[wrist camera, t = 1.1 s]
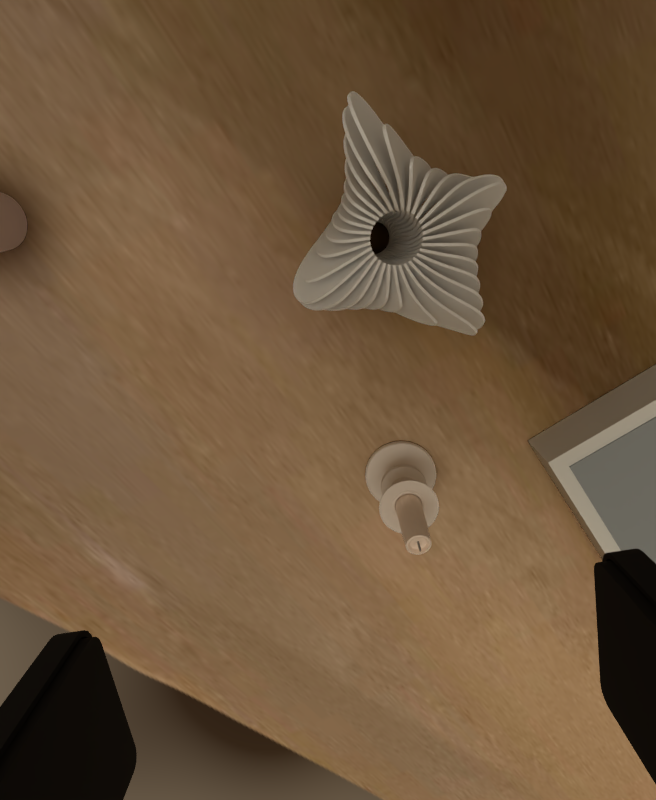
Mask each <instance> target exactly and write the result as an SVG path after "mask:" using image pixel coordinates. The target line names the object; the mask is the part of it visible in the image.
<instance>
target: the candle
mask: <svg viewBox="0 0 656 800" xmlns="http://www.w3.org/2000/svg"><path fill="white" fill-rule="evenodd" d="M365 478H366V484H367V487H368V489H369V491H370V493H371V494H372V495H373V496H374V497H375V499H377V500H378V501H379V502H380V504H379V511H380V516H381V518H382V520H383V522H384V523H385V524H386V526H387V527H389V528H390V529H392V530H393V531H395V532H398V533H401V534H402V536H403V539H404V542H405V546H406V549H407V551H408V552H410V553H411V554H416V555H419V554H423V553H425V552H427V551H428V550H429V549H430V547H431V539H430V534H429V530H428V527H430V526H431V524H432V523H433V522H434V521H435V519H436V517H437V515H438V511H439V502H438V498H437V496H436V494H435V492H434V491H433V490H432V489H433V487H434V485H435V481H436V467H435V464H434V462H433V460H432V457H431V456H430V455H429V453H428V452H427V451H426V450H425V449H424V448H422V447H421V446H419V445H417V444H415V443H412V442H407V441H396V442H390V443H388V444H385V445H383V446H381V447H380V448H379V449H377V450H376V451H375V452H374V453H373V454H372V456H371V457H370V458H369V461H368V463H367V465H366V471H365Z"/></svg>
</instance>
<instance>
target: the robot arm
mask: <svg viewBox="0 0 656 800" xmlns="http://www.w3.org/2000/svg"><path fill="white" fill-rule="evenodd" d="M594 576H595V594H596V612H597V630H598V648H599V665H600V683H601V689H602V693H603V696H604V699H605V701H606V703H607V705H608V707H609V709H610V711H611V712H612V714H613V716H614V717H615V719H616V720H617V722H618V724H619V725H620V727H621V729H622V730H623V732H624V733H625V735H626V737H627V738H628V740H629V742H630V743H631V745H632V746H633V748H634V750H635V751H636V753H637V755H638V756H639V758H640V759H641V761H642V763H643V764H644V766H645V768H646V769H647V771H648V772H649V774H650V776H651V777H652V779H653V781H654V782H655V784H656V563H655V562H654V561H652V560H651V559H650V558H649V557H648V556H647V555H646V554H645V553H644V552H643V551H641V550H640V549H629V550H622V551H615V552H609V553H605V554H604V556H603V559H602V562H598V563H596V564H595V566H594ZM135 765H136V747H135V744H134V741H133V738H132V735H131V732H130V729H129V726H128V722H127V720H126V716H125V713H124V711H123V708H122V704H121V701H120V698H119V696H118V692H117V689H116V686H115V683H114V680H113V677H112V674H111V671H110V668H109V665H108V662H107V659H106V656H105V653H104V650H103V647H102V644H101V642H100V640H99V639H98V638H97V637H92V635H91V634H90V633H89V632H88V631H85V630H84V631H77V632H70V633H63V634H57V635H55V636H53V637H52V638H51V639H50V641H49V642H48V643H47V644H46V646H45V647H44V648H43V650H42V651H41V652H40V654H39V655H38V657H37V658H36V659H35V661H34V662H33V663H32V665H31V666H30V667H29V669H28V670H27V671H26V673H25V674H24V675H23V677H22V678H21V680H20V681H19V682H18V684H17V685H16V686H15V688H14V689H13V690H12V692H11V693H10V694H9V696H8V697H7V699H6V700H5V701H4V703H3V704H2V705H1V707H0V800H123V798H124V796H125V793H126V790H127V788H128V786H129V783H130V780H131V778H132V775H133V773H134V769H135Z"/></svg>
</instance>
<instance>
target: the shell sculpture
mask: <svg viewBox="0 0 656 800" xmlns="http://www.w3.org/2000/svg"><path fill="white" fill-rule="evenodd" d="M347 100H348V106H347V107H346V108H345V109H344V111H343V115H342V120H343V127H344V130H345V136H344V152H345V156H346V161H345V175H346V180H345V182H344V192H345V193H344V194H343V195H342V197H341V204H340V205H339V207H338V209H337V211H336V212H335V213H334V214H333V216H332V220H331V222H330V223H329V224H328V225H327V228H326V229H325V230H324V232H323V233H322V234H321V235H320V237H319V239H318V240H317V241H316V242H315V243H314V245H313V246H312V247H311V249H310V250H309V252H308V253H307V255H306V256H305V258H304V259H303V261H302V262H301V264H300V266H299V268H298V270H297V272H296V275H295V278H294V282H293V292H294V295H295V297H296V299H297V300H298V301H299V302H300V303H301V304H302V305H303V306H304V307H306V308H308V309H310V310H329V311H339V310H344V309H350V310H359V309H363V308H365V309H371V310H376V309H380V310H382V311H386V312H395V313H397V314H399V315H401V316H404V317H406V318H408V319H411V320H414V321H416V322H419V323H422V324H426V325H431V326H434V325H436V326H440V327H443V328H446V329H450V330H453V331H457V332H460V333H464V334H467V335H476V333H477V332H478V331H477V329H479V328H481V327H482V326H483V324H484V322H485V318H484V315H483V314H482V313H481V312H480V310H481V308H482V306H483V300H482V297H481V296H480V295H479V293H478V292H479V290H480V281H479V279H478V278H477V277H476V276H477V273H478V265H477V263H476V262H475V261H476V259H477V256H478V249H477V245H478V244H479V242H480V240H481V231H482V229H483V228H484V227H485V225H486V224H487V223H488V221H489V219H490V217H491V214H492V213H491V212H492V211H493V209H494V208H495V207H496V206H497V205H498V203H499V202H500V200H501V199H502V198H503V196H504V194H505V192H506V189H507V187H506V184H505V183H504V182H503V180H502V178H501V177H499V176H497V175H480V176H476V177H472V176H468V175H464V174H458V173H454V174H450V175H448V174H447V173H446V172H445V171H443V170H441V169H439V168H432V169H431V167H430V166H429V164H428V163H427V162H426V161H425V160H423V159H422V158H420V157H418V156H413V154H412V153H411V152H410V150H409V149H408V147H407V146H406V145H405V143H404V142H403V141H402V139H401V138H400V137H399V136H398V134H397V133H396V132H395V130H394V129H393V128H392V127H391V126H390V125H389V124H385V125H384V124H383V123H382V121H381V120H380V119H379V117H378V116H377V115H376V113H375V112H374V111H373V109H372V108H371V107H370V106H369V104H368V103H367V102H366V101H365V100H364V99H363V98H362V97H361V96H360V95H359V94H358V93H356V92H354V91H352V92H350V93H349V94H348V96H347ZM374 161H375V162H374ZM375 163H376V165H377V167H378V169H379V171H380V173H379V171H378V169H377V167H376V165H375ZM363 169H364V170H363ZM372 183H373V184H374V186H375V187H376V189H377V190H378V192H379V193H378V192H377V191H376V189H375V188H374V186H373V184H372ZM385 183H386V185H387V187H388V190H389V193H388V191H387V188H386V186H385ZM368 194H369V195H368ZM428 196H429V197H428ZM427 197H428V199H427V200H426V198H427ZM425 200H426V202H425V203H424V205H423V206H421V205H422V204H423V202H424V201H425ZM436 203H437V204H436ZM435 204H436V205H435ZM433 205H435V206H434V207H433V208H432V209H431V210H430V211H429V212H428V213H427V214H426V215H425V213H426V212H427V211H428V210H429V209H430V208H431V207H432V206H433ZM443 211H444V212H443ZM440 213H441V214H440ZM424 215H425V216H424ZM423 216H424V217H423ZM422 217H423V218H422ZM421 218H422V219H421ZM376 222H379V223H381V224H383V225H384V226H385V227H386V228H387V230H388V232H389V243H388V245H387V247H386V248H385V249H384V250H383V251H382V252H380V253H377V254H374V252H373V251H372V248H371V246H370V245H371V243H370V241H369V240H371V239H370V235H371V230H373V225H375V223H376ZM419 228H420V229H419Z"/></svg>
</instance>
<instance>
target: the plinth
mask: <svg viewBox="0 0 656 800" xmlns="http://www.w3.org/2000/svg"><path fill="white" fill-rule="evenodd" d="M528 442H529V444H530V445H531V447H532V448H533V450H534V452H535V453H536V455H537V456H538V458H539V460H540V461H541V463H542V464H543V466H544V467H545V469H546V471H547V472H548V474H549V475H550V477H551V479H552V480H553V482H554V483H555V485H556V486H557V488H558V490H559V491H560V493H561V494H562V496H563V498H564V499H565V501H566V502H567V504H568V505H569V507H570V509H571V510H572V512H573V513H574V515H575V517H576V518H577V520H578V521H579V523H580V524H581V526H582V528H583V529H584V531H585V532H586V534H587V536H588V537H589V539H590V540H591V542H592V543H593V545H594V547H595V548H596V550H597V551H598V553H599V555H600V556H601V558H602V559H603V556H604V554H605V553H609V552H615V551H622V550H629V549H640V550H641V551H643V552H644V553H645V554H646V555H647V556H648V557H649V558H650V559H651V560H652V561H654V562H655V563H656V365H654V366H652V367H651V368H649V369H647V370H645V371H644V372H642V373H640V374H639V375H637V376H635V377H634V378H632V379H630V380H629V381H627V382H625V383H624V384H622V385H620V386H619V387H617V388H615V389H614V390H612V391H610V392H609V393H607V394H605V395H603V396H602V397H600V398H598V399H597V400H595V401H593V402H592V403H590V404H588V405H587V406H585V407H583V408H582V409H580V410H578V411H577V412H575V413H573V414H572V415H570V416H568V417H567V418H565V419H563V420H561V421H560V422H558V423H556V424H555V425H553V426H551V427H550V428H548V429H546V430H545V431H543V432H541V433H540V434H538V435H536V436H535V437H533V438H531V439H530V440H528Z"/></svg>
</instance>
